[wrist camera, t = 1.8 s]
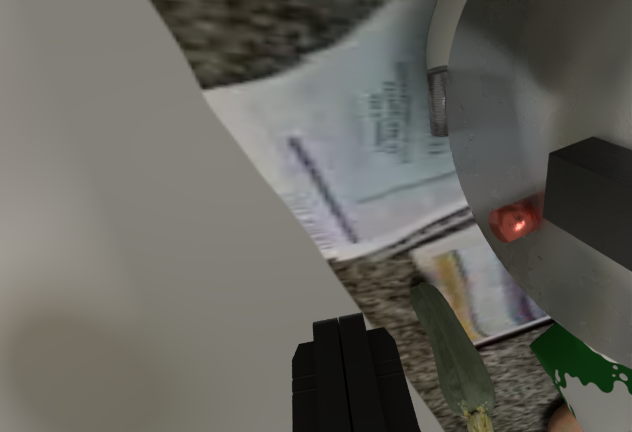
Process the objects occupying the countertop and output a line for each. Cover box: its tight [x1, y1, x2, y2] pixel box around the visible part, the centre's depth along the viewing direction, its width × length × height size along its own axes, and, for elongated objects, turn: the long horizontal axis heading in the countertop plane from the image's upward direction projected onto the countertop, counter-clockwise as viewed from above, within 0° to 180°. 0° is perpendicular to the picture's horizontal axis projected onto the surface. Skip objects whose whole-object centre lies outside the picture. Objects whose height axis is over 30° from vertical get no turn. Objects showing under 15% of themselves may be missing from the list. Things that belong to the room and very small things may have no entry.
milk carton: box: [530, 323, 632, 432], centre depth 45 cm, size 9×9×20 cm
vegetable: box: [411, 283, 496, 432], centre depth 38 cm, size 4×4×20 cm
